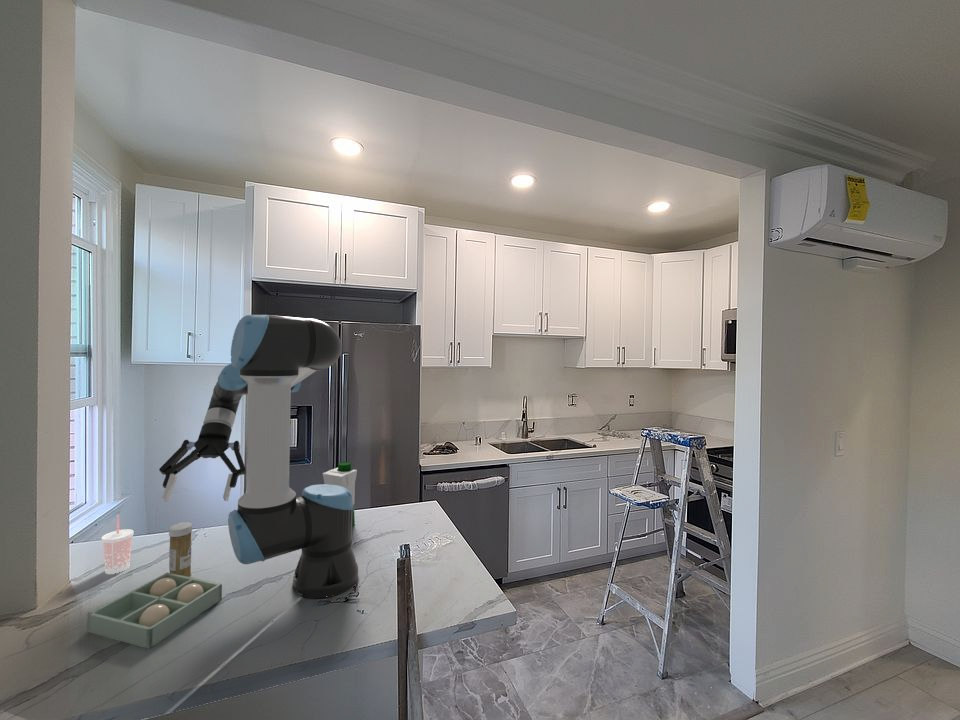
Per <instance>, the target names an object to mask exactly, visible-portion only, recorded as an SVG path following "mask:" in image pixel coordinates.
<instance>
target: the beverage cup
mask: <svg viewBox="0 0 960 720" xmlns="http://www.w3.org/2000/svg"><path fill="white" fill-rule="evenodd" d="M134 533H135V531H134V530H133V529H130V528H129V529H128V528H127V529H125V528H124V529H120V514H116V530H114V531H113V530H112V531H110V532H108V533H106V534H104V535H101V542H102V546H103V547H102V548H103V558H104V559H103V560H104V572H105V574H107V575H115V573H116V574H119V572H120V573H122V571H123V572H124V570H125V571H126V569H127V568H128V569H129V568H130V564H131V555H132V554H131V552H132V540H133V536H134ZM128 569H127V570H128Z"/></svg>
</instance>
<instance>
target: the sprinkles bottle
mask: <svg viewBox="0 0 960 720" xmlns="http://www.w3.org/2000/svg"><path fill="white" fill-rule="evenodd" d="M192 532H193V524H192V522H189V521H187V522H186V521H184V522H179V523H175V524H173V525H171V526H170V527H169V529H168V536H169V547H168V548H169V550H168V551H169V553H168V555H169V560H168V563H169V564H168V565H169V567H168V568H169V569H168V570H169V573H172V574H177V575H182V576H187V577H192Z"/></svg>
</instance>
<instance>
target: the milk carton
mask: <svg viewBox="0 0 960 720" xmlns="http://www.w3.org/2000/svg"><path fill="white" fill-rule="evenodd" d="M357 473H358V470H357V469H354V468H352V463H351V462H349V461H343V462H342V461H341V462H338V464H337V467H336V468H335V467H334V468H333V469H329V470H328V471H325V472H322V478H323V482H324V483H323V484H329V485H337V486H342V487H345V488H347V489H348V490H349V491H350V492H351V494H352V502H353V512H352V526H354V525H356V524H355V520H356V519H355V498H356V497H355V493H356V492H355V491H356V489H355V486H356V480H357V475H358V474H357Z"/></svg>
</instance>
